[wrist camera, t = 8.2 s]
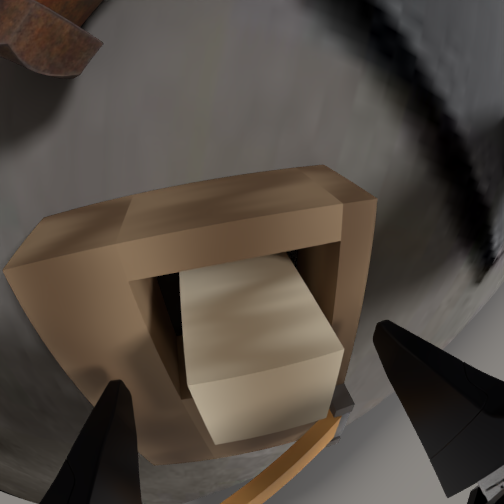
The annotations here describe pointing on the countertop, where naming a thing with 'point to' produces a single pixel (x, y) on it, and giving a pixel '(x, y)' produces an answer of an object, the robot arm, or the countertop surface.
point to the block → (182, 259)
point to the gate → (290, 461)
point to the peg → (256, 348)
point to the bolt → (48, 35)
